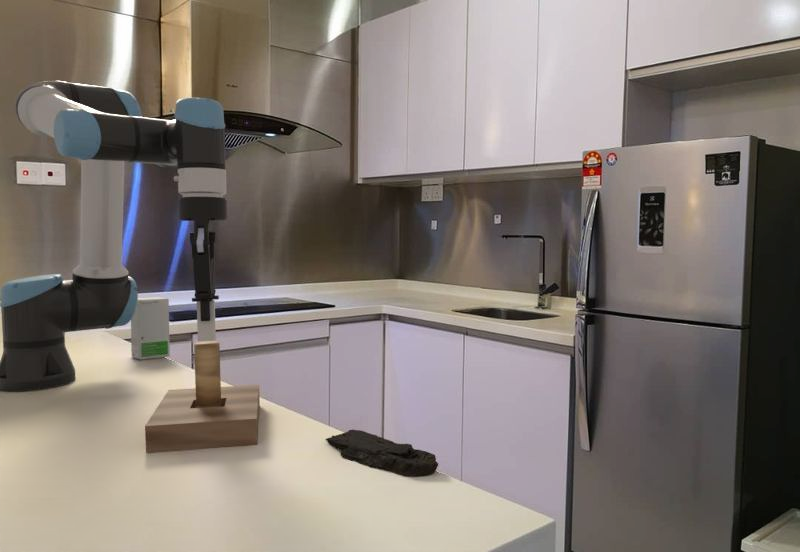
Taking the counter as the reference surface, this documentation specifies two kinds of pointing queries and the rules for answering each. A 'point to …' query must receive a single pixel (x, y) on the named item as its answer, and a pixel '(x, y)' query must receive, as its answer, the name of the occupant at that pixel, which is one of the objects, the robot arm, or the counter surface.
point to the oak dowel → (207, 374)
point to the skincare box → (150, 329)
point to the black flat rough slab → (384, 454)
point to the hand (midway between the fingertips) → (206, 339)
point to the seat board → (204, 420)
